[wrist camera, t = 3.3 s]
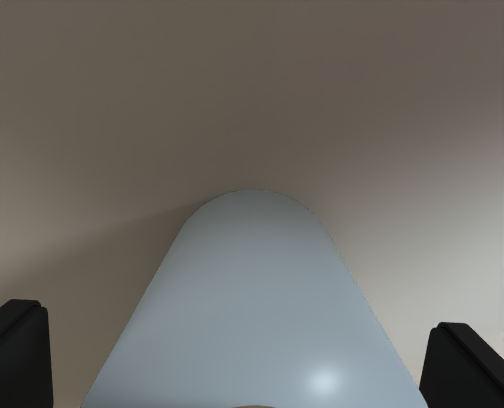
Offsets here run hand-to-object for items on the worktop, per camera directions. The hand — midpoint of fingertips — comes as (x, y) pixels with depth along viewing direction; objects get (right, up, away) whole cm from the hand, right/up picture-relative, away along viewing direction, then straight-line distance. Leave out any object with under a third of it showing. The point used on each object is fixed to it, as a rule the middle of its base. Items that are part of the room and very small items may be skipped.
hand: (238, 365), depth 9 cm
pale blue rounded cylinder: (0, +1, +5) cm, 5 cm away
